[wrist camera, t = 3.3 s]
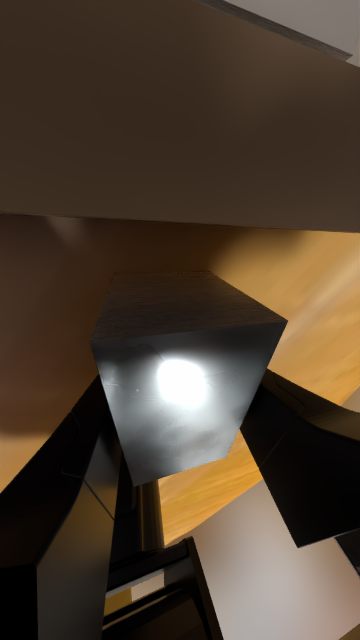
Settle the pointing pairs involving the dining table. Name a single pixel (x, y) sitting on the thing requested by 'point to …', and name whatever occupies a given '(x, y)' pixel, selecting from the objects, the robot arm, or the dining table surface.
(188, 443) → the block
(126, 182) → the brown wooden bar
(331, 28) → the mini door model
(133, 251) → the dining table surface
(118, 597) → the flower pot
